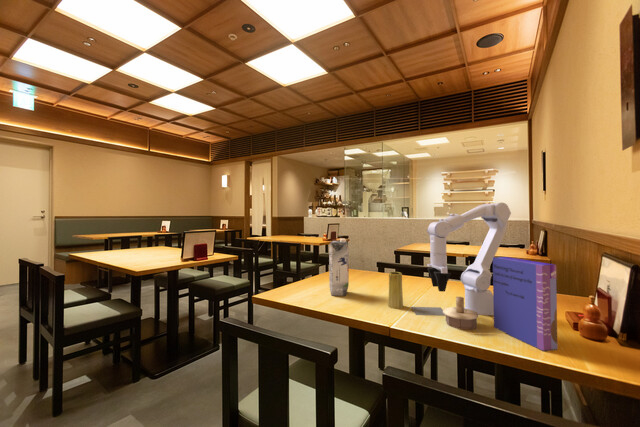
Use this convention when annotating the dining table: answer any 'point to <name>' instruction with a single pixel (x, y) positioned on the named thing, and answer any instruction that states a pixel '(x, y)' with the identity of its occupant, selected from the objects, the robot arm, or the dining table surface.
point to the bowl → (461, 323)
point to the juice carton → (338, 267)
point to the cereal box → (526, 301)
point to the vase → (395, 290)
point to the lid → (460, 311)
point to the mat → (428, 311)
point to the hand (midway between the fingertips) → (438, 288)
